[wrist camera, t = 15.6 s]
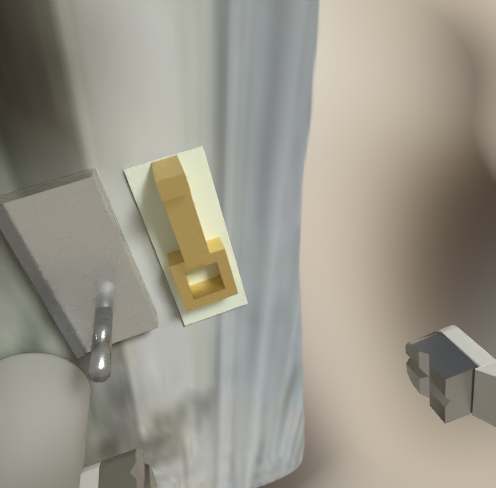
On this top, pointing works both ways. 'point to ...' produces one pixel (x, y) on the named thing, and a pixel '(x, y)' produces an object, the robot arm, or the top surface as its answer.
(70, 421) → the cylinder vase
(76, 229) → the toggle switch block
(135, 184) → the sage mat
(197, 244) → the brass hook
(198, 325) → the top surface
